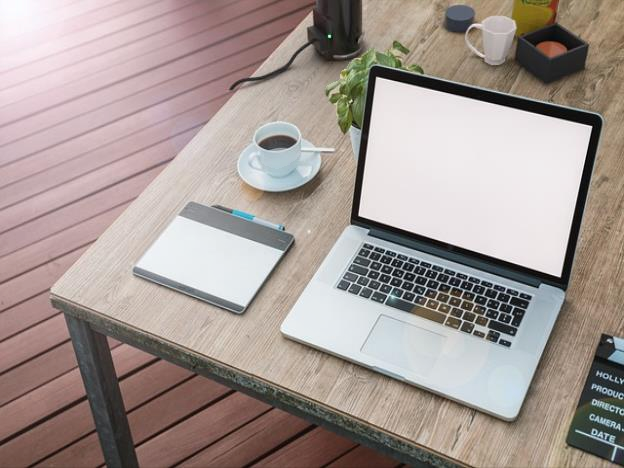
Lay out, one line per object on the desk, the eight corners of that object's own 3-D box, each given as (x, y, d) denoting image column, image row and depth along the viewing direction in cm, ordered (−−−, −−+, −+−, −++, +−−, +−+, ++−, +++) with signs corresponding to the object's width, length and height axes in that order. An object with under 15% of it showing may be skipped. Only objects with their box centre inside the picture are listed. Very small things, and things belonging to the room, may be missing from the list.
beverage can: (540, 47, 173) (549, -6, 164) (501, 33, 177) (508, -19, 169) (561, 27, 178) (571, -25, 169) (523, 14, 182) (530, -37, 173)
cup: (506, 72, 167) (511, 37, 162) (458, 61, 171) (461, 27, 165) (516, 53, 172) (521, 18, 166) (469, 43, 175) (472, 9, 169)
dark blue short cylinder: (455, 34, 178) (456, 23, 176) (438, 21, 181) (439, 10, 179) (479, 26, 180) (480, 14, 178) (462, 13, 183) (463, 1, 181)
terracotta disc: (563, 72, 165) (566, 60, 163) (531, 68, 167) (533, 56, 165) (565, 55, 170) (568, 43, 168) (534, 51, 171) (536, 39, 169)
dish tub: (545, 84, 164) (550, 60, 160) (514, 60, 170) (517, 36, 166) (584, 68, 167) (589, 44, 163) (551, 45, 173) (556, 21, 169)
